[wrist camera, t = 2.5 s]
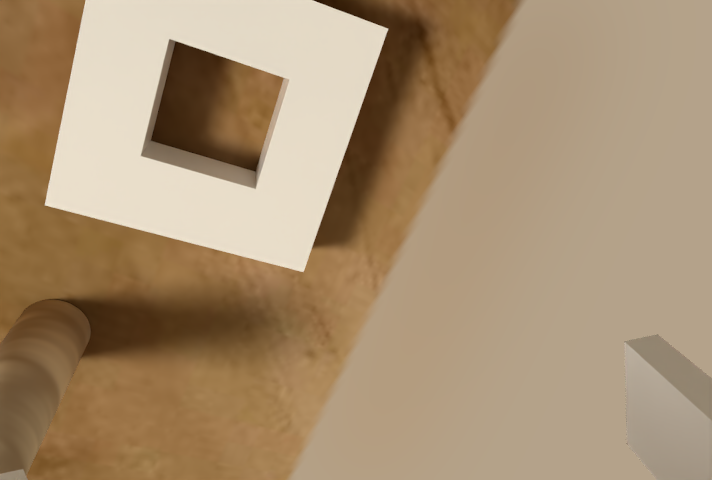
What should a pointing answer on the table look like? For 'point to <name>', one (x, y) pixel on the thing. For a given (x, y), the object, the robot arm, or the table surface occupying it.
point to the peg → (36, 376)
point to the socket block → (195, 172)
